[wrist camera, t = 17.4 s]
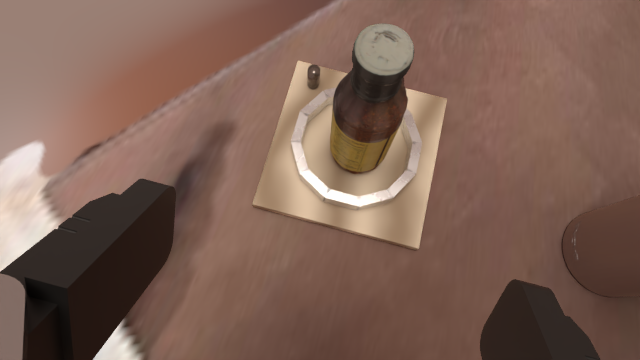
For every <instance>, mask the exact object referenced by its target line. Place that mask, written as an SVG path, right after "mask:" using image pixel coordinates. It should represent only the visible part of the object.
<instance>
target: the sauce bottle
mask: <svg viewBox="0 0 640 360" xmlns="http://www.w3.org/2000/svg"><path fill="white" fill-rule="evenodd" d="M413 57H414V45H413V42H412V40H411V38H410V37H409V35H408V34H407V33H406V32H405V31H404V30H403V29H401V28H399V27H397V26H394V25H391V24H374V25H371V26H368V27H367V28H365V29H364V30H363V31H362V32H361V33H360V34H359V35H358V37H357V39H356V41H355V43H354V48H353V51H352V62H353V68H352V71H350V72H349V73H348V74H347V75H346V76H345V77H344V78H343V79H342V80H341V81H340V82H339V84H338V86H337V88H336V90H335V93H334V97H333V108H332V122H331V134H330V149H331V152H332V155H333V158H334V160H335V162H336V163H337V164H338V165H339V166H340V167H342V168H343V169H345V170H346V171H349V172H350V173H354V174H358V173H365V172H369V171H371V170H374V169H375V168H377V167H378V165H379V164H380V163H381V162H382V161H383V160H384V158H385V156H386V154H387V152H388V150H389V148H390V146H391V144H392V142H393V140H394V137H395V135H396V133H397V131H398V129H399V127H400V125H401V123H402V120H403V116H404V113H405V111H406V108H407V103H408V97H407V95H406V89H405V87H404V78H403V77H404V75H405V74H406V73H407V72H408V70H409V68H410V66H411V63H412V61H413Z"/></svg>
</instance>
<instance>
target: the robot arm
mask: <svg viewBox="0 0 640 360" xmlns="http://www.w3.org/2000/svg"><path fill="white" fill-rule="evenodd" d="M175 201H176V192H175V189H174V187H172V186H168V185H164V184H161V183H157V182H153V181H149V180H146V179H139V180H138V181H136V182H135V183H134V184H133V185H132V186H130V187H129V188H128V189H127V190H126V191H125V192H123V193H122V194H121V195H118V194H115V193H111V194H108V195H106V196H103V197H101V198H98V199H96V200H93V201H90V202H89V203H87V204H86V205H85V206H84V207H82V208H81V209H80V210H78V211H77V212H76V213H75V214H73V217H72V218H68V219H67V220H66V221H64V222H63V223H62V224H61V225H59V227H58V229H54V230H53V231H52V232H50V233H49V234H48V235H47V236H45V237H44V238H43V239H42V240H40V241H39V242H38V243H36V244H35V245H34V246H33V247H31V248H30V249H29V250H28V251H26V252H25V253H24V254H22V255H21V256H20V257H19V258H17V259H16V260H15V261H14V262H12V263H11V264H10V265H8V266H7V267H6V268H5V269H3V270H2V271H1V272H0V360H93V358H94V357H95V356H96V354H97V353H98V352H99V350H100V349H101V348H102V346H103V345H104V344H105V342H106V341H107V340H108V338H109V337H110V336H111V334H112V333H113V332H114V330H115V329H116V328H117V326H118V325H119V324H120V322H121V321H122V320H123V318H124V317H125V316H126V315H127V313H128V312H129V311H130V309H131V308H132V307H133V305H134V304H135V303H136V301H137V300H138V299H139V297H140V296H141V295H142V293H143V292H144V291H145V289H146V288H147V287H148V285H149V284H150V283H151V281H152V280H153V279H154V277H155V276H156V275H157V273H158V272H159V271H160V269H161V268H162V267H163V265H164V264H165V262H166V260H167V258H168V256H169V254H170V251H171V248H172V243H173V233H174V217H175ZM563 254H564V259H565V262H566V264H567V266H568V269H569V270H570V272H571V273H572V275H573V276H574V277H575V279H576V280H577V281H578V282H579V283H580V284H581V285H583V286H584V287H585V288H587V289H588V290H590V291H592V292H594V293H596V294H599V295H603V296H606V297H628V296H640V195H638V196H635V197H632V198H629V199H626V200H623V201H620V202H617V203H614V204H611V205H608V206H605V207H602V208H599V209H596V210H593V211H590V212H587V213H584V214H582V215H579V216H578V217H576V218H575V219H574V220H572V222H571V223H570V224H569V225H568V227H567V229H566V231H565V233H564V237H563ZM480 351H481V356H482V360H600V358H599V356H598V354H597V352H596V350H595V348H594V347H593V345H592V343H591V341H590V339H589V337H588V336H587V335H586V334H585V333H584V332H583V331H582V330H581V329H580V328H579V327H578V326H577V324H576V323H575V322H574V321H573V320H572V319H571V318H570V317H568V316H565V315H564V313H563V311H562V309H561V307H560V305H559V303H558V301H557V299H556V297H555V295H554V293H553V292H552V291H551V289H549V288H546V287H542V286H539V285H535V284H531V283H527V282H524V281H520V280H516V279H515V280H512V281H511V282H509V284H508V285H507V286H506V288H505V290H504V292H503V293H502V295H501V297H500V299H499V301H498V302H497V304H496V306H495V308H494V309H493V311H492V313H491V315H490V316H489V318H488V320H487V322H486V323H485V325H484V328H483V330H482V334H481V340H480Z"/></svg>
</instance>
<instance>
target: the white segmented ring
mask: <svg viewBox="0 0 640 360" xmlns="http://www.w3.org/2000/svg"><path fill="white" fill-rule="evenodd" d="M319 81H320V67H319V66H317V65H310V66H309V67H308V72H307V86H308V88H310V89H312V90H314V89H317V88H318V87H319ZM336 88H337V87H336ZM336 88H331V89H327V90H324V91H322V92H321V93H320V94H319V95H318V96H316V97H315V98H314V99H313V100H312V101H311V102H310V103H308V104H307V105H306V106H305V107H304V108H303V109H302V110H301V111H300V112H299V116H298V119H297V122H296V126H295V129H294V132H293V135H292V139H291V150H292V153H293V157H294V161H295V164H296V168H297V172H298V175H299V178H300V180H301V181H302V182H303V183H304V184H305V185H306V186H307V187H308V188H309V189H310V190H312V191H313V192H314V193H315V194H316V195H317V196H318V197H319V198H320V199H321V200H322V201H324V200H325V201H324V202H325V203H329V204H333V205H336V206H340V207H344V208H348V209H351V210H355V211H356V210H357V211H358V210H362V209H366V208H370V207H374V206H377V205H381V204H385V203H389V202H390V201H391V200H392V199H393V198H394V197H395V196H396V195H397V194H398V193H399V192H400V191H401V190H402V189H403V188H404V187H405V185H406V184H407V183H408V182H409V181H410V180H411V179H412V178H413V177H414V176H415V175H416V172H417V167H418V162H419V157H420V152H421V147H422V141H421V138H420V135H419V132H418V130H417V127H416V124H415V121H414V119H413V116H412V113H411V112H410V111H409V110H408V109H406V111H405V113H404V116H403V120H402V123H401V125H400V128H401V131H402V133H403V136H404V139H405V142H406V145H407V148H408V153H407V157H406V162H405V167H404V172H403V174H402V175H401V176H400V177H399V178H398V179H397V180H396V181H395V182H394V183H393V184H392V185H391V186H390V187H389V188H388V189H387V190H383V191H379V192H375V193H371V194H367V195H364V196H360V197H358V196H354V195H351V194H347V193H343V192H339V191H335V190H332V189H329V188H328V187H327V186H326V185H325V184H324V183H323V182H322V181H321V180H320V179H319V178H318V177H317V176H316V175H314V174H313V173H312V172H311V171H310V170H309V169H308V166H307V163H306V159H305V156H304V152H303V148H302V141H303V138H304V135H305V131H306V128H307V124H308V123H309V122H310V121H311V120H312V119H313V118H314V117H315V116H317V115H318V114H319V113H320V112H321V111H322V110H323V109H324V108H325V107H327V106H329V105H333V97H334V93H335V90H336ZM410 113H411V114H410Z"/></svg>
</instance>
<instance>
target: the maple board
mask: <svg viewBox="0 0 640 360" xmlns="http://www.w3.org/2000/svg"><path fill="white" fill-rule="evenodd" d="M310 65H313V64H309V63H305V62H301V61H298V63H297V66H296V69H295V72H294V75H293V78H292V81H291V84H290V88H289V91H288V94H287V97H286V100H285V103H284V106H283V110H282V113H281V116H280V119H279V122H278V125H277V128H276V132H275V135H274V138H273V141H272V144H271V147H270V150H269V154H268V157H267V160H266V163H265V166H264V169H263V172H262V176H261V179H260V182H259V185H258V188H257V191H256V194H255V197H254V201H253V204H252V205H253V207H256V208H260V209H264V210H267V211H271V212H275V213H279V214H282V215H286V216H290V217H294V218H297V219H301V220H305V221H309V222H312V223H316V224H320V225H323V226H327V227H331V228H335V229H338V230H342V231H346V232H350V233H353V234H357V235H361V236H365V237H368V238H372V239H376V240H380V241H383V242H387V243H391V244H395V245H398V246H402V247H406V248H410V249H413V250H417V249H419V244H420V239H421V234H422V229H423V223H424V218H425V213H426V208H427V202H428V197H429V192H430V186H431V181H432V176H433V171H434V165H435V160H436V155H437V149H438V144H439V139H440V134H441V128H442V123H443V118H444V112H445V107H446V102H447V99H446V98H442V97H438V96H434V95H430V94H426V93H422V92H418V91H414V90H411V89H407V88H405V89H406V95H407V97H408V103H407V108H406V109H408V110H409V111H410V112H411V113H412V116H413V119H414V121H415V124H416V127H417V130H418V132H419V135H420V138H421V141H422V147H421V152H420V157H419V162H418V167H417V172H416V175H415V176H414V177H413V178H412V179H411V180H410V181H409V182H408V183H407V184H406V185H405V187H404V188H403V189H402V190H401V191H400V192H399V193H398V194H397V195H396V196H395V197H394V198H393V199H392V200H391V201H390V202H389V203H385V204H381V205H377V206H374V207H370V208H366V209H362V210H358V211H357V210H356V211H355V210H351V209H348V208H344V207H340V206H336V205H333V204H329V203H325V202H324V201H325V200H324V201H322V200H321V199H320V198H319V197H318V196H317V195H316V194H315V193H314V192H313V191H312V190H310V189H309V188H308V187H307V186H306V185H305V184H304V183H303V182H302V181H301V180H300V178H299V175H298V172H297V168H296V164H295V161H294V157H293V153H292V150H291V139H292V135H293V132H294V129H295V126H296V122H297V119H298V116H299V112H300V111H301V110H302V109H303V108H304V107H305V106H306V105H307V104H308V103H310V102H311V101H312V100H313V99H314V98H315V97H316V96H318V95H319V94H320V93H321V92H322V91H324V90H327V89H331V88H336V87H337V86H338V84H339V82H340V81H341V80H342V79H343V78H344V77H345V76H346V75H347V74H348V73H344V72H340V71H336V70H332V69H328V68H325V67H321V66H319V67H320V81H319V87H318V88H317V89H314V90H312V89H310V88H308V86H307V72H308V67H309V66H310ZM332 108H333V105H329V106H327V107H325V108H324V109H323V110H322V111H321V112H320V113H319V114H318V115H317V116H315V117H314V118H313V119H312V120H311V121H310V122H309V123H308V124H307V128H306V131H305V135H304V138H303V141H302V148H303V152H304V156H305V159H306V163H307V166H308V169H309V170H310V171H311V172H312V173H313V174H314V175H316V176H317V177H318V178H319V179H320V180H321V181H322V182H323V183H324V184H325V185H326V186H327V187H328V188H329V189H332V190H335V191H339V192H343V193H347V194H351V195H354V196H358V197H360V196H364V195H367V194H371V193H375V192H379V191H383V190H387V189H388V188H389V187H390V186H391V185H392V184H393V183H394V182H395V181H396V180H397V179H398V178H399V177H400V176H401V175H402V174H403V172H404V167H405V162H406V157H407V153H408V148H407V145H406V142H405V139H404V136H403V133H402V131H401V128H400V127H399V129H398V131H397V133H396V135H395V137H394V140H393V142H392V144H391V146H390V148H389V150H388V152H387V154H386V156H385V158H384V160H383V161H382V162H381V163H380V164H379V165H378V167H377V168H375V169H374V170H371V171H369V172H365V173H358V174H354V173H350V172H349V171H346V170H345V169H343V168H342V167H340V166H339V165H338V164H337V163H336V162H335V160H334V158H333V155H332V152H331V149H330V134H331V122H332ZM411 113H410V114H411Z"/></svg>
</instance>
